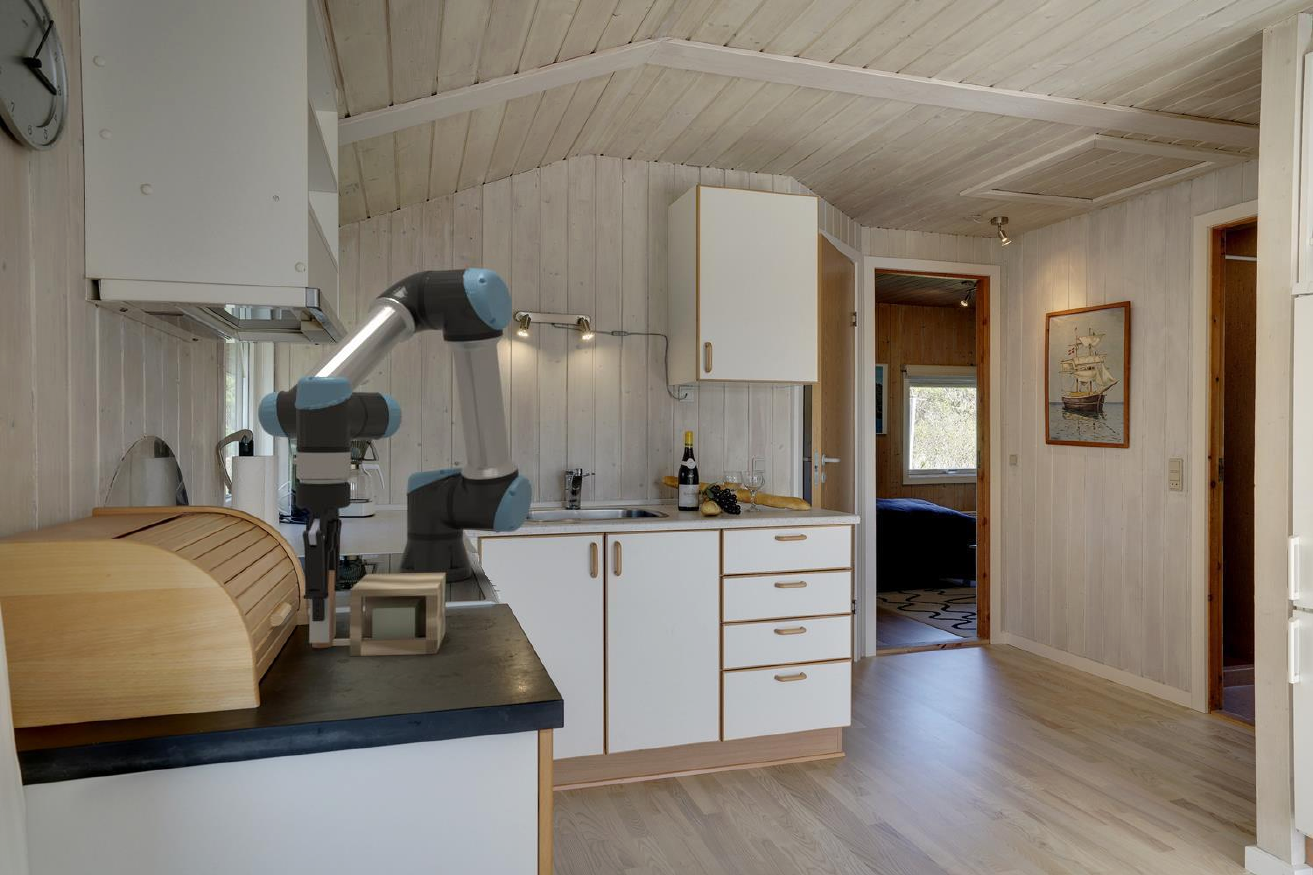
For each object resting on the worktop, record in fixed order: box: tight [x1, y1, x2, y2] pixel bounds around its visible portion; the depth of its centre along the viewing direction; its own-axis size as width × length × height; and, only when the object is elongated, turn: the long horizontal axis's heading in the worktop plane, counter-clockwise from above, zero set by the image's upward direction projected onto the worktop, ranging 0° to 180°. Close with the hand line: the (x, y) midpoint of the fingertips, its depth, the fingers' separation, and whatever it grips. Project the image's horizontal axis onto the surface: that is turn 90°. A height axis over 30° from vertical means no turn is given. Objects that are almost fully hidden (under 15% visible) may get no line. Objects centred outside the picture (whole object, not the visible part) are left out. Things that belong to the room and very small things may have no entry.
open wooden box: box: [349, 572, 447, 657], centre depth 124 cm, size 12×12×10 cm
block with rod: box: [311, 570, 421, 649], centre depth 123 cm, size 6×15×11 cm, turn 99°
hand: (322, 638), depth 122 cm, fingers closed on block with rod, 3 cm apart
